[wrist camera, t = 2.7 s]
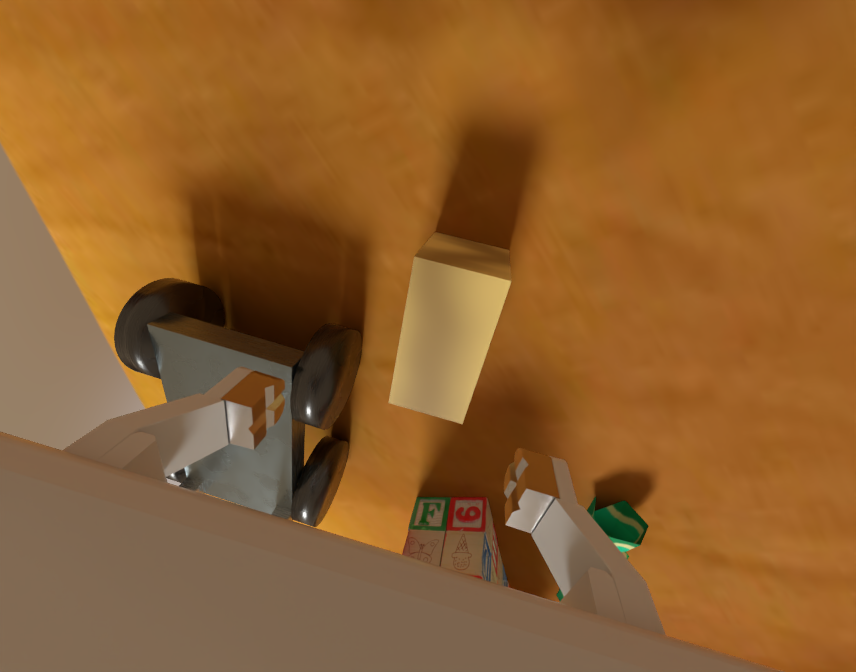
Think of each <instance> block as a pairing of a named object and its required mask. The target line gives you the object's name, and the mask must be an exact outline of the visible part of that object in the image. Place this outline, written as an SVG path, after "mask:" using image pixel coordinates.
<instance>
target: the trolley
mask: <svg viewBox="0 0 856 672" xmlns="http://www.w3.org/2000/svg"><path fill="white" fill-rule="evenodd" d="M223 327H224V310H223V306H222V303H221V301H220V299H219V297H218V296H217V295H216V294H215V293H214V292H213V291H212V290H211V289H209V288H207V287H204V286H201V285H197V284H194V283H190V282H187V281H183V280H180V279H175V278H165V279H160V280H157V281H154V282H151V283H149V284H147V285H146V286H144V287H142V288H141V289H140V290H138V291H137V292H136V293H135V294H134V295H133V296H132V297H131V298H130V299H129V300H128V302H127V303H126V304H125V306H124V307H123V309H122V311H121V313H120V315H119V317H118V320H117V323H116V327H115V335H114V341H115V348H116V351H117V354H118V356H119V358H120V359H121V361H122V362H123V363H124V364H125V365H126V366H127V367H129V368H130V369H132V370H134V371H137V372H140V373H143V374H146V375H150V376H153V377H156V378H159V379H161V380H162V384H163V388H164V392H165V395H166V399H167V403H168V402H171V401H175V400H178V399H181V398H185V397H188V396H192V395H195V394H199V393H200V394H203V395H204V394H205V393H206V392H207V391H209V390H210V389H211V388H212V387H214V386H215V385H216V384H217V383H219V382H220V381H221V380H222V379H223V378H225V377H226V376H227V375H228V374H230V373H231V372H232V371H233V370H235V369H236V368H238V367H245V368H248V369H251V370H254V371H258V372H261V373H265V374H268V375H271V376H274V377H277V378H280V379H283V380H284V381H285V389H284V390H283V392H282V393H281V394H282V395H283V397H284V398H285V405H284V410H283V412H282V414H281V417H280V419H279V420H278V421H277V423H276V424H275V425H274V426H271V427H269V428H267V429H266V436H265V437H264V439H263V440H262V441H261V442H260V443H259V445H258V446H257V447H256V448H255V449H254V450H253V449H249V448H245V447H241V446H238V445H234V444H230V443H229V444H228V445H227V446H225V447H223V448H221V449H219V450H217V451H215V452H213V453H211V454H210V455H208V456H206V457H204V458H202V459H200V460H198V461H196V462H194V463H192V464H190V465H188V466H186V467H185V468H183V469H181V470H179V471H177V472H175V473H173V474H171V475H169V476H167V477H166V478H168V479H171V480H174V481H177V482H180V483H181V485H179V486H180V487H183V488H186V489H189V490H193V491H196V492H199V493H202V494H204V493H206V494H209V495H212V496H215V497H218V498H221V499H224V500H228V501H231V502H234V503H237V504H240V505H243V506H246V507H249V508H252V509H255V510H258V511H261V512H264V513H268V514H271V515H274V516H277V517H281V518H284V519H287V520H291V521H293V520H295V521H298V522H301V523H304V524H307V525H310V526H313V527H317V526H318V525H319V524H320V523H321V521H322V520H323V518H324V517H325V515H326V513H327V511H328V509H329V507H330V505H331V503H332V501H333V499H334V497H335V494H336V492H337V489H338V487H339V484H340V481H341V478H342V475H343V472H344V469H345V466H346V462H347V457H348V452H349V444H348V442H346V441H342V440H339V439H336V438H333V437H330V436H325V437H324V438H322V439H321V440H320V442H319V443H318V444H317V445H316V447H315V448H314V450H313V452H312V453H311V455H310V457H309V459H308V461H307V463H306V465H305V466H304V436H305V424H308V425H311V426H314V427H317V428H321V429H324V430H325V429H328V428H329V427H330V426H332V425H333V423H334V422H335V421H336V420H337V418H338V417H339V415H340V413H341V412H342V410H343V408H344V406H345V404H346V402H347V400H348V397H349V395H350V392H351V390H352V387H353V384H354V381H355V378H356V375H357V371H358V367H359V363H360V358H361V351H362V338H361V334H360V332H359V331H356V330H353V329H349V328H346V327H342V326H339V325H336V324H332V323H328V324H326V325H324V326H323V327H321V328H320V329H319V330H318V331H317V332H316V334H315V335H314V336H313V338H312V339H311V341H310V342H309V344H308V346H307V347H306V349H305V351H301V350H298V349H294V348H291V347H288V346H284V345H281V344H278V343H274V342H271V341H267V340H264V339H261V338H257V337H254V336H251V335H247V334H244V333H240V332H237V331H234V330H230V329H227V328H223Z"/></svg>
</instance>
